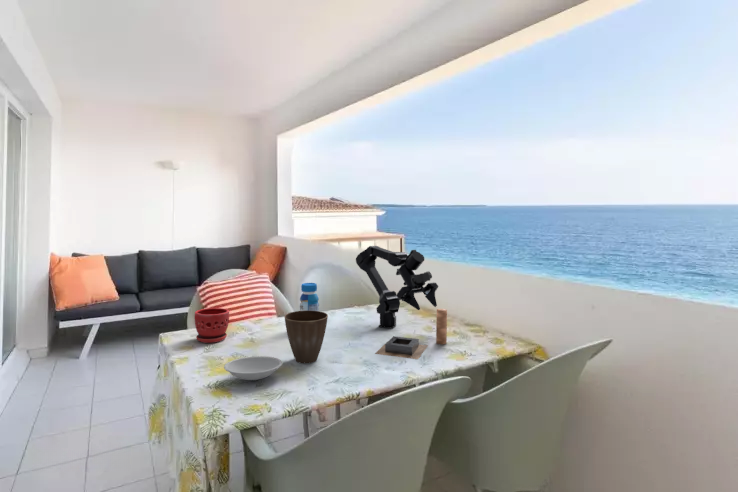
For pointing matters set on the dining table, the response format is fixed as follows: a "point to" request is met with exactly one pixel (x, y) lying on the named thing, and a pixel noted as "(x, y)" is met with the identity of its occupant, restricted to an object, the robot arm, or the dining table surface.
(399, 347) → the black collar
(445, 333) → the terracotta pin
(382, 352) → the walnut board
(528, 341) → the dining table surface
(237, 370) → the dish
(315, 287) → the beverage bottle
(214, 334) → the plant pot
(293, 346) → the plant pot
